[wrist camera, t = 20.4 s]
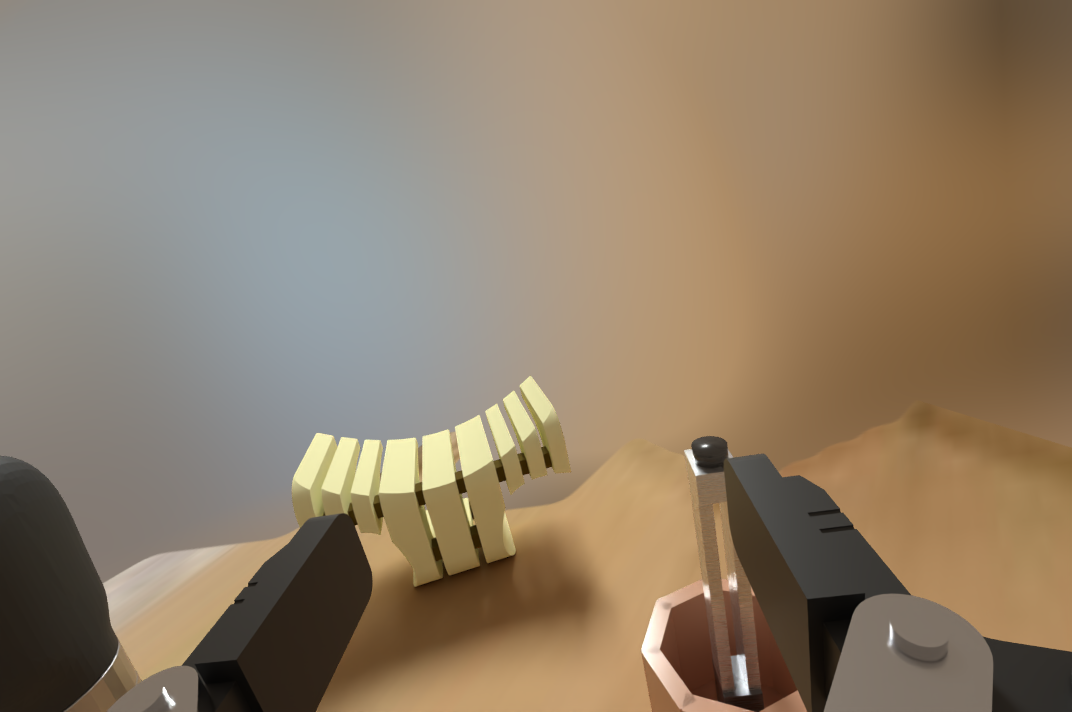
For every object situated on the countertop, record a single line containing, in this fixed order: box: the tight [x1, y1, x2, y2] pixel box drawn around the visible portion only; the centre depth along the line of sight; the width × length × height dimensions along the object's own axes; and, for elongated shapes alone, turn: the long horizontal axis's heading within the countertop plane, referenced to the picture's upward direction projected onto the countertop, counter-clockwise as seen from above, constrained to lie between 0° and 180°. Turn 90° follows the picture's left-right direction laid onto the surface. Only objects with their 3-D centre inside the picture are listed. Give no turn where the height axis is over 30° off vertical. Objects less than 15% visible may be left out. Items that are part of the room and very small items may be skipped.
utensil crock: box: [641, 579, 807, 712], centre depth 35 cm, size 11×11×10 cm
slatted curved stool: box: [292, 376, 571, 587], centre depth 64 cm, size 30×16×18 cm, turn 102°
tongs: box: [684, 436, 764, 712], centre depth 33 cm, size 3×2×24 cm
